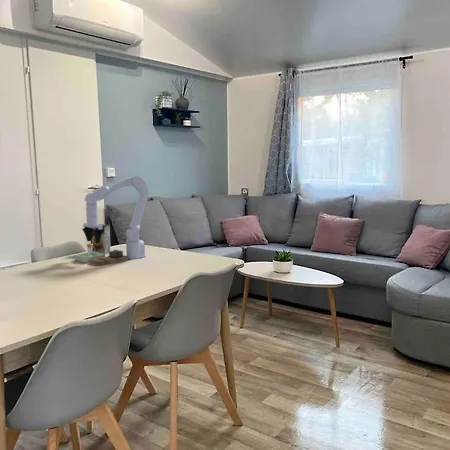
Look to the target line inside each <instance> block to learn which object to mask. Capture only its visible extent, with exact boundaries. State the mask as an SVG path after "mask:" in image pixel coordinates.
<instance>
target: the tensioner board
mask: <svg viewBox="0 0 450 450" xmlns="http://www.w3.org/2000/svg"><path fill="white" fill-rule="evenodd" d="M128 260H129V258H128V256H127V255H124V252H123V250H119V249H113V250H110V252H109V253H108V256H105V257H102V258H96V259H91V260H89V263H88V264H90V265H94V266H97V267H98V266H99V267H100V266H105V265H110V264H115V263H119V262H120V263H121V262H125V261H128Z"/></svg>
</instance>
